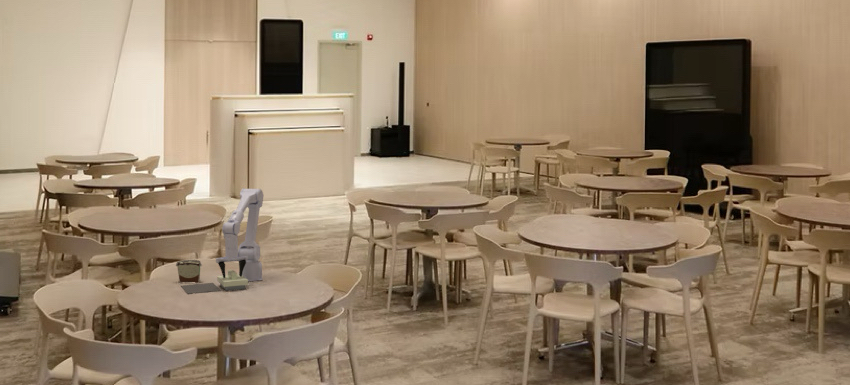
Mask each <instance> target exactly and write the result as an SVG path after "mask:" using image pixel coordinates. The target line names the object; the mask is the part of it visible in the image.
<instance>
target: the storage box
mask: <svg viewBox="0 0 850 385" xmlns="http://www.w3.org/2000/svg"><path fill="white" fill-rule="evenodd" d="M220 287H221V288H222V289H223V290H225V291H226V292H229V291H231V292H232V291H241V290H242V291H243V290H246V285H239V286H229V287H224V286H223V285H222V284H221V283H220Z"/></svg>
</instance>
